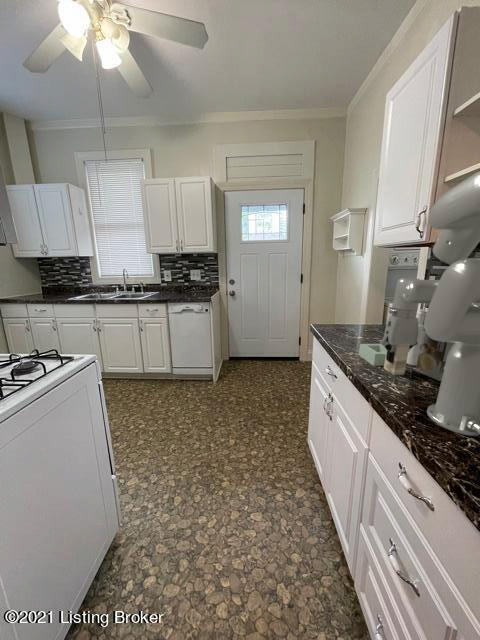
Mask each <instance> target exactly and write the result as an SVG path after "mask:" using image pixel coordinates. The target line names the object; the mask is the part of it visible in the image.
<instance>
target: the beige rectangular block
mask: <svg viewBox="0 0 480 640" xmlns="http://www.w3.org/2000/svg"><path fill="white" fill-rule="evenodd" d="M409 346H410V344H399V345H398V346H395V349H394V351H393V352H394V359H393V363H390V362H389V361H387V360H386V358H385V363H384V366H383V370H385V371H387V372H388V373H390V374H391V375H392V376H404V375H405V373H406V372H405V371H406V368H407V363H406V362H407V357H408V352H409ZM386 355H387V352H386Z"/></svg>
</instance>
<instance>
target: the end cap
mask: <svg viewBox="0 0 480 640" xmlns="http://www.w3.org/2000/svg"><path fill="white" fill-rule="evenodd" d="M386 352H387V350H386V348H385V347H384V346H383V345H381V344H380V343H359V349H358V355H359V356H360V357H361V358H362V359H364V360H365V361H366V362H368V363H369V364H370V365H371V366H373V367H375V366H376V367H379V366H380V367H381V366H382V367H384V363H385V358H386Z"/></svg>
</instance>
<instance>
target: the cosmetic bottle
mask: <svg viewBox="0 0 480 640" xmlns="http://www.w3.org/2000/svg"><path fill="white" fill-rule="evenodd" d="M425 311H426V310H425V309H419V308H418V310H417V315H416V318H418V324H419V328H418V338H417V342H418V344H417V345H415V346H413V347H412V348H411V349H410V350H409V352H408V357H407V362H406V365H407V364H408V365H410V366H417V360H418V355H419V350H420V344H421V339H422V334H423V331H424V330H425V329H424V319H425V315H426V312H425Z"/></svg>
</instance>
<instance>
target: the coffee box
mask: <svg viewBox="0 0 480 640" xmlns="http://www.w3.org/2000/svg"><path fill="white" fill-rule="evenodd" d="M454 344H455V343H454V342H440V341H436V340H433V339H431V338H430V337H429V336H428V335H427V334H426V332H425V330H423V334H422V339H421V344H420V350H419V355H418V360H417V365H415V366H416V367H415V371H416V372H417V373H420V374H423V375H425V376H427V377H429V378H432V379H434V380H436V381H439V382H441V381H442V376H443V372H444V368H445V363H446V359H447V355H448V353H449V351H450V349H451V348H452V346H453V345H454Z"/></svg>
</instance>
